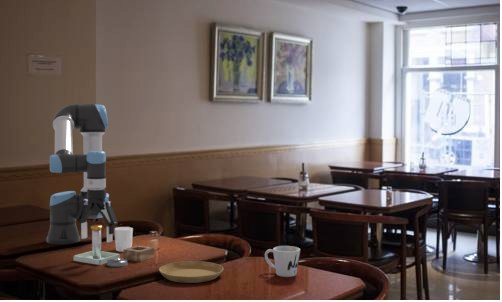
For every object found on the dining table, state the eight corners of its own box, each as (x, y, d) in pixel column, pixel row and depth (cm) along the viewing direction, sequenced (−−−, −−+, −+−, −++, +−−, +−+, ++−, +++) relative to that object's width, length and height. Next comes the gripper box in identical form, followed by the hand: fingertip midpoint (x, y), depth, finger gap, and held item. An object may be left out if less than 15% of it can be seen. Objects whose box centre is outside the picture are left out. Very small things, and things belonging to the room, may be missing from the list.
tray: (73, 261, 255) (73, 255, 255) (94, 255, 266) (94, 250, 266) (100, 266, 249) (100, 260, 249) (120, 259, 259) (120, 254, 259)
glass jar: (88, 260, 256) (88, 226, 255) (96, 257, 260) (95, 224, 259) (97, 261, 254) (96, 227, 253) (105, 258, 258) (104, 225, 257)
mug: (291, 279, 232) (292, 253, 231) (257, 273, 240) (257, 248, 239) (304, 273, 241) (305, 247, 240) (271, 268, 248) (271, 243, 248)
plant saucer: (184, 265, 252) (184, 257, 252) (235, 274, 240) (235, 265, 240) (145, 279, 231) (145, 270, 231) (199, 289, 219) (199, 280, 219)
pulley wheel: (103, 266, 248) (102, 259, 248) (116, 262, 255) (116, 255, 255) (118, 269, 244) (118, 262, 244) (131, 264, 251) (131, 258, 251)
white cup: (128, 253, 272) (128, 230, 271) (111, 252, 273) (111, 229, 272) (135, 249, 279) (135, 227, 279) (119, 248, 281) (118, 226, 280)
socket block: (123, 260, 259) (123, 249, 259) (137, 255, 267) (137, 245, 267) (140, 262, 255) (140, 251, 255) (154, 258, 263) (154, 247, 263)
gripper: (67, 187, 258) (67, 238, 259) (114, 191, 246) (114, 245, 248) (80, 185, 265) (80, 235, 266) (126, 189, 253) (126, 241, 254)
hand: (96, 240), depth 257 cm, fingers open, 13 cm apart
